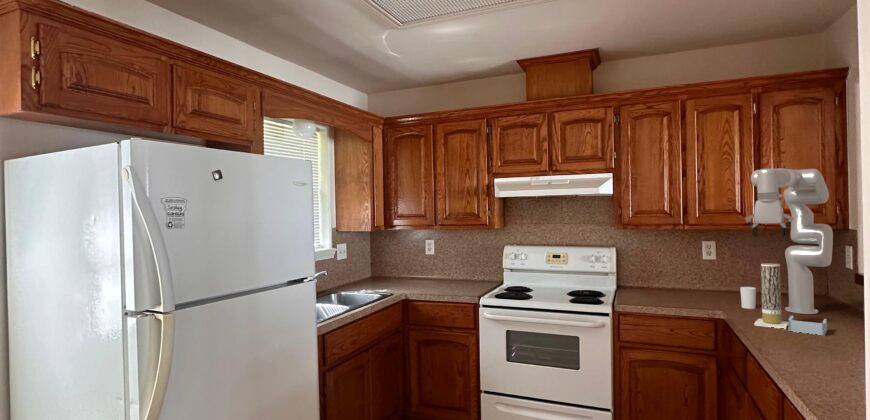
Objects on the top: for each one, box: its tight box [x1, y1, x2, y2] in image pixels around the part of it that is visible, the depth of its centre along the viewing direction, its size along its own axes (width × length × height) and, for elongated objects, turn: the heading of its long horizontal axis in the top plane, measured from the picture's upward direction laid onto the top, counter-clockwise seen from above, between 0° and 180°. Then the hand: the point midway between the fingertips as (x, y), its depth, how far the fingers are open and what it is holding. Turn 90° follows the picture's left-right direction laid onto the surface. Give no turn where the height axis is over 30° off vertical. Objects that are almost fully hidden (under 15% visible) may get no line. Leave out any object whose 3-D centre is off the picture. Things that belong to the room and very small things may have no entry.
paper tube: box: [760, 262, 783, 324], centre depth 206 cm, size 7×7×25 cm
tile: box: [753, 318, 788, 330], centre depth 206 cm, size 11×11×1 cm
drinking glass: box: [739, 286, 757, 310], centre depth 241 cm, size 7×7×10 cm
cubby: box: [787, 315, 828, 336], centre depth 195 cm, size 11×12×4 cm
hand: (769, 237), depth 206 cm, fingers open, 9 cm apart
